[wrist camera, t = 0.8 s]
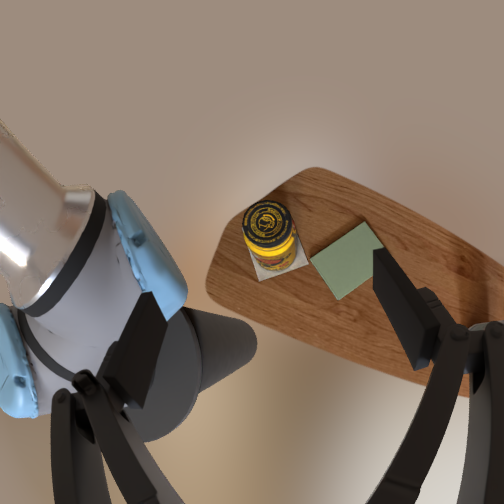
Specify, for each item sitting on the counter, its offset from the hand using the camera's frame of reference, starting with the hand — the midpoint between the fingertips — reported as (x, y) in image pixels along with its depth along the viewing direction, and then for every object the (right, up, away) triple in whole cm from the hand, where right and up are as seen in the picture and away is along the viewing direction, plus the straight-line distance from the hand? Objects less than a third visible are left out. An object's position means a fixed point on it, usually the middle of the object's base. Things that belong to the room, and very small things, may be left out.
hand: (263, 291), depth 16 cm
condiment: (+3, +3, +25) cm, 26 cm away
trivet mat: (+13, +1, +23) cm, 27 cm away
